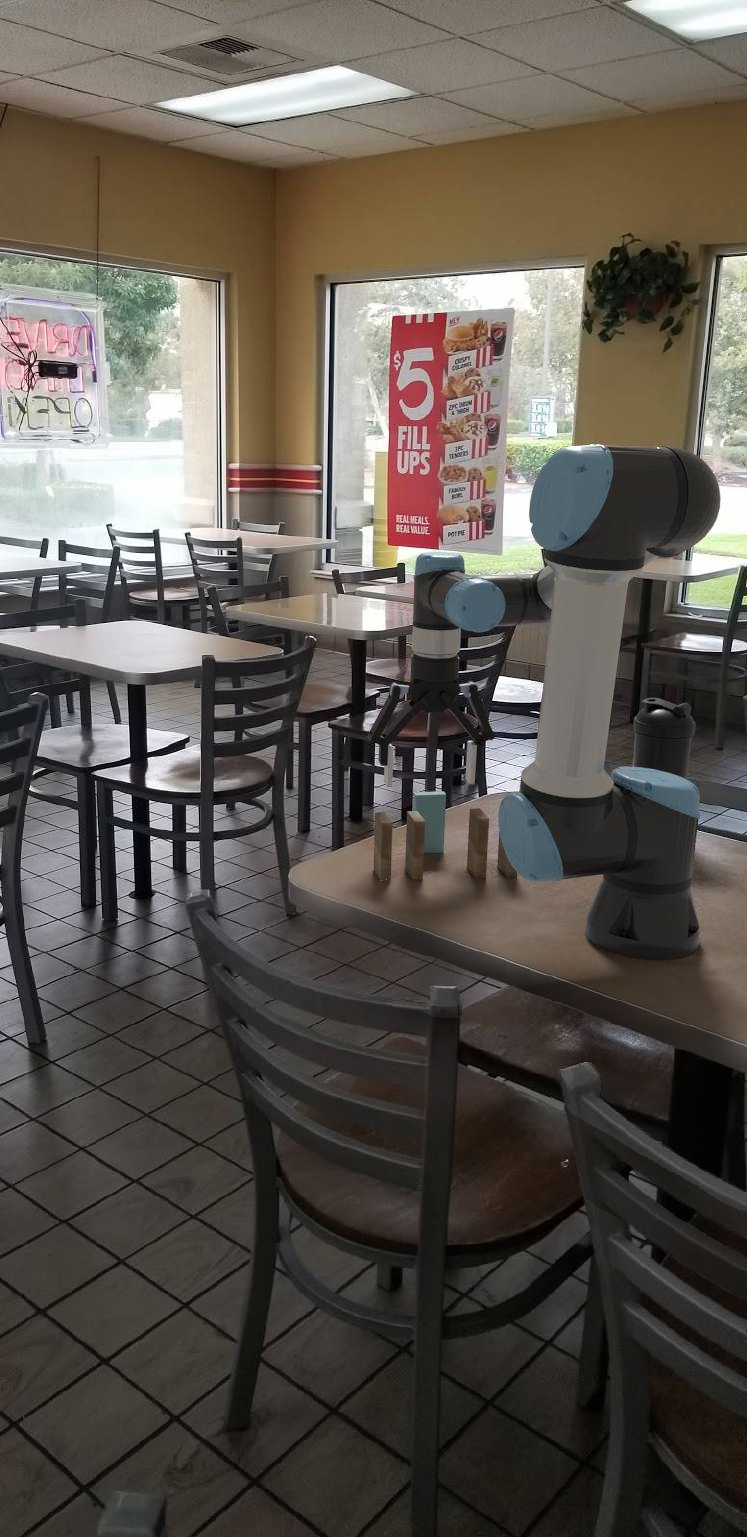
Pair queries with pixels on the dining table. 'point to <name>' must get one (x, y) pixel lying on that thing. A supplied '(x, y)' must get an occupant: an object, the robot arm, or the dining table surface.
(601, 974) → the dining table surface
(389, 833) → the domino
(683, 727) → the water bottle
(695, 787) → the robot arm
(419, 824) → the domino
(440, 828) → the domino
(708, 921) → the dining table surface
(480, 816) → the domino
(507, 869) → the domino
